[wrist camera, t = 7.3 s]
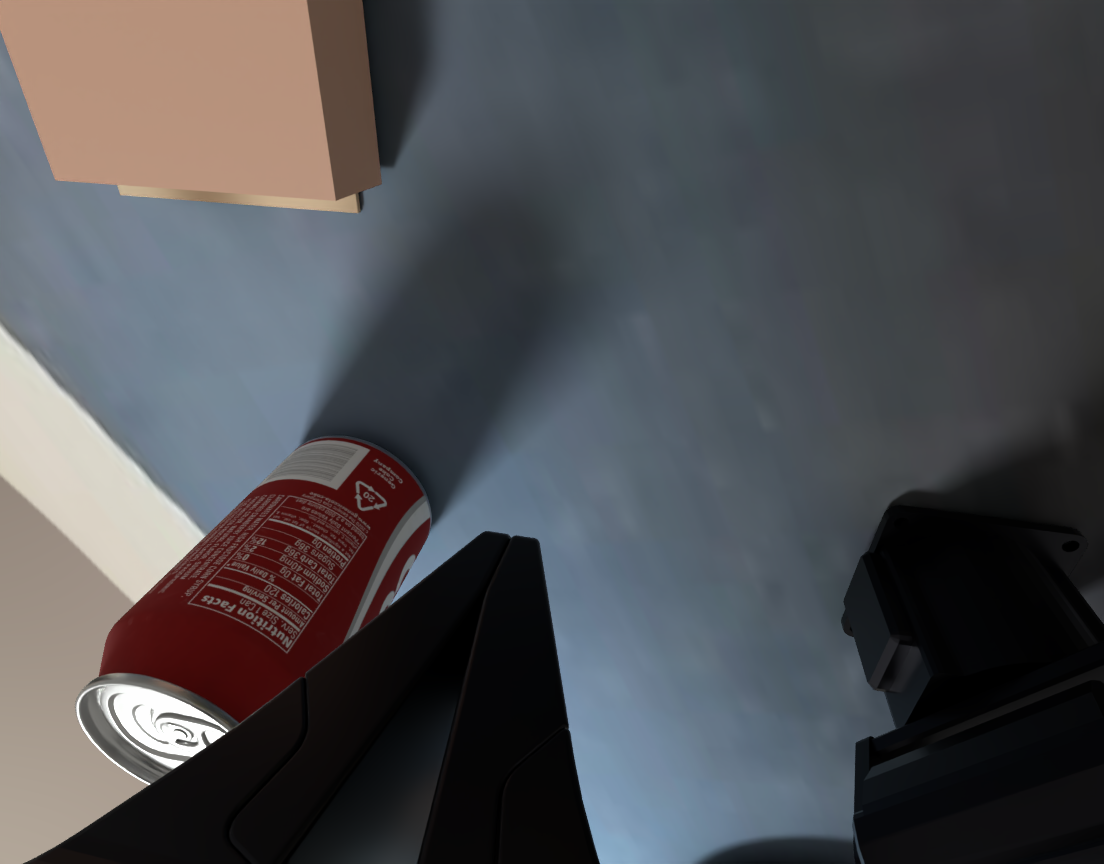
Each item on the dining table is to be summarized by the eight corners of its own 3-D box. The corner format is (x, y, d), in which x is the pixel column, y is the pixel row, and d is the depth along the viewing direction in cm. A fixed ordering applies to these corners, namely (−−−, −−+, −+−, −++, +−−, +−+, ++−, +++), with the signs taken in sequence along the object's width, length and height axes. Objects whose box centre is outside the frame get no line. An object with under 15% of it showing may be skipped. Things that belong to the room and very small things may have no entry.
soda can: (281, 415, 25) (13, 642, 15) (435, 440, 25) (259, 698, 14) (304, 537, 29) (99, 788, 19) (440, 562, 28) (301, 840, 18)
